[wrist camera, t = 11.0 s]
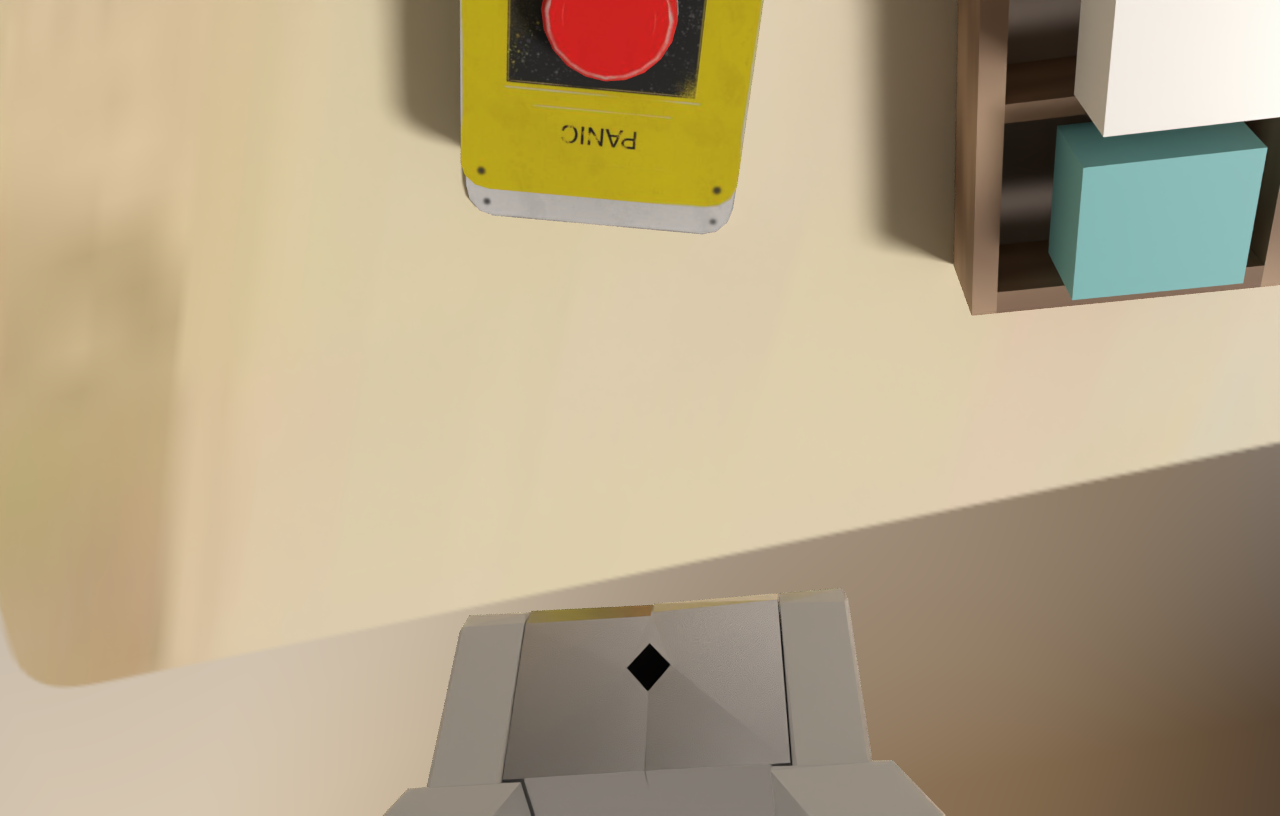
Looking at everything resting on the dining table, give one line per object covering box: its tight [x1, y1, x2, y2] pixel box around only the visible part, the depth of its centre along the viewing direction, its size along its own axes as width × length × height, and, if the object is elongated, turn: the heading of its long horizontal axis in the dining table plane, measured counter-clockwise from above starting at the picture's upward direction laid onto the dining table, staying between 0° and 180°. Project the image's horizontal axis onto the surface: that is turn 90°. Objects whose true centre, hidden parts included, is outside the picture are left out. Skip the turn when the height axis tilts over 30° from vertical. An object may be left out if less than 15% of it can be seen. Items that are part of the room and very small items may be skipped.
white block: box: [1074, 0, 1280, 137], centre depth 32 cm, size 4×5×4 cm
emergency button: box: [460, 0, 764, 234], centre depth 36 cm, size 9×4×15 cm
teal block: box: [1048, 121, 1268, 300], centre depth 37 cm, size 4×5×4 cm
